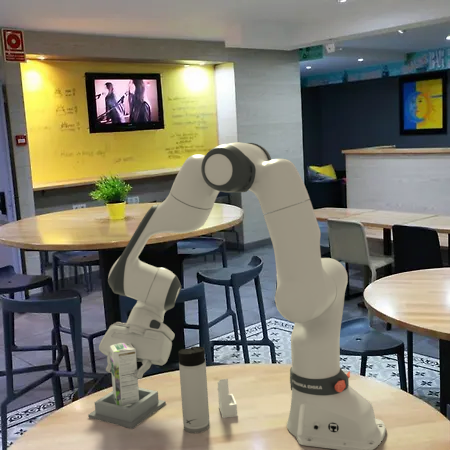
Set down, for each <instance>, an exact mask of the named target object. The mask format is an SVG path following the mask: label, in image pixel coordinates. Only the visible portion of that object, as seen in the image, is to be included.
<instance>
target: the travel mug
mask: <svg viewBox="0 0 450 450" xmlns="http://www.w3.org/2000/svg"><path fill="white" fill-rule="evenodd" d="M205 350H206V349H205V348H204V347H201V346H192V347H188V348H181V349H179V350H178V365H179V367H178V368H179V379H180V380H179V383H180V394H181V395H180V397H181V407H182V409H181V410H182V423H183V425H182V426H183V430H184V431H186V432H187V433H190V434H200V433H204V432H206V431H208V429H209V428H210V425H211V424H210V409H209V398H208V397H209V396H208V395H209V393H208V378H207V365H206V364H207V363H206V351H205Z"/></svg>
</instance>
